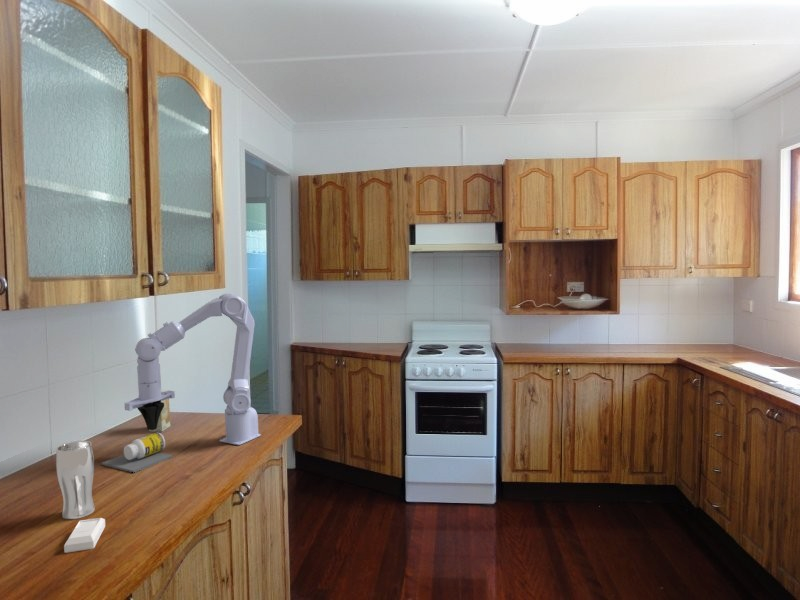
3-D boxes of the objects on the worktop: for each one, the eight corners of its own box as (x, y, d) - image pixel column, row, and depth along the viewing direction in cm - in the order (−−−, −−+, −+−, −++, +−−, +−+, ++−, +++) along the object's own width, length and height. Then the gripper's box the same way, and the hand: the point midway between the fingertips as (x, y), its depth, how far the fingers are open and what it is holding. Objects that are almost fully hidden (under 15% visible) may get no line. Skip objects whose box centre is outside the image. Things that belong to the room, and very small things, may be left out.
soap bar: (64, 554, 101) (63, 541, 101) (78, 531, 109) (77, 518, 109) (93, 550, 102) (93, 537, 102) (105, 527, 111) (104, 515, 111)
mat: (141, 450, 154) (141, 448, 154) (172, 457, 148) (172, 455, 148) (101, 464, 144) (101, 462, 144) (133, 473, 138) (133, 470, 138)
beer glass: (73, 505, 120) (68, 440, 119) (103, 505, 120) (99, 440, 119) (52, 520, 113) (47, 451, 112) (84, 520, 113) (79, 451, 112)
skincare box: (162, 432, 170) (160, 394, 169) (148, 432, 170) (146, 394, 169) (171, 425, 176) (169, 389, 175) (158, 426, 176) (156, 389, 175)
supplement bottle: (167, 450, 151) (136, 462, 142) (155, 450, 153) (123, 463, 145) (163, 431, 151) (132, 442, 142) (151, 432, 153) (119, 443, 145)
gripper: (161, 374, 157) (164, 420, 158) (116, 385, 144) (119, 434, 145) (178, 376, 154) (181, 423, 155) (133, 388, 141) (136, 438, 142)
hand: (152, 429), depth 150 cm, fingers closed
